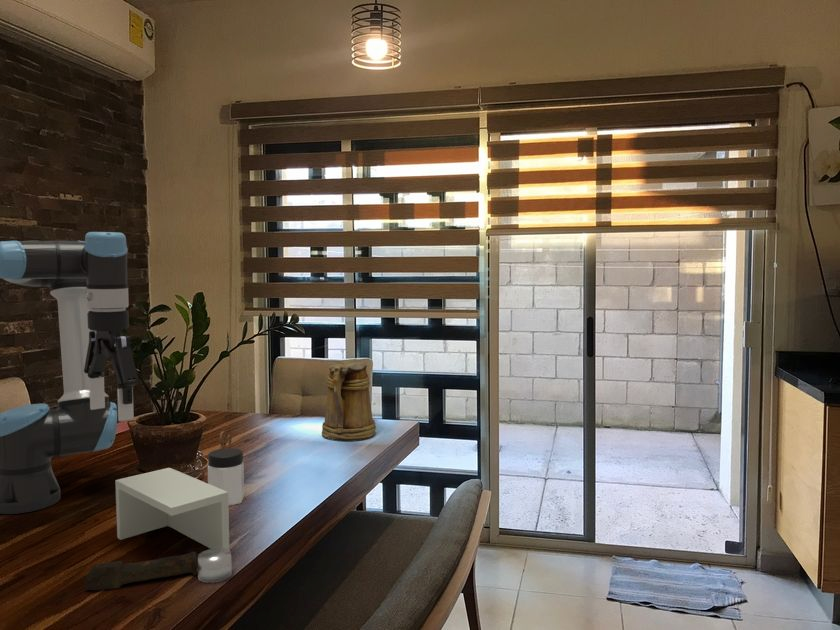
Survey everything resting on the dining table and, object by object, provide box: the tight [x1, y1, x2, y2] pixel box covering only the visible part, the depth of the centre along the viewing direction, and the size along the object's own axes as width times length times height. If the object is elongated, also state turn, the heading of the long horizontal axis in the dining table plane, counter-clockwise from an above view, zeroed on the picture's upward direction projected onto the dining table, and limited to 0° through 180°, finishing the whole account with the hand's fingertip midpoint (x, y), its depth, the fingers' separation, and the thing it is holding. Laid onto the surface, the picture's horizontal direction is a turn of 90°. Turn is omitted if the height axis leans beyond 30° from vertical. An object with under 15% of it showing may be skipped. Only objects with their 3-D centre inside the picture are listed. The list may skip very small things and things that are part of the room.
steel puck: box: [197, 548, 233, 584], centre depth 128 cm, size 6×6×4 cm
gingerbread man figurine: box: [216, 430, 233, 450], centre depth 188 cm, size 9×4×12 cm, turn 168°
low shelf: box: [114, 467, 230, 551], centre depth 141 cm, size 24×12×12 cm, turn 47°
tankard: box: [321, 358, 377, 442], centre depth 228 cm, size 18×24×25 cm
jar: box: [207, 447, 245, 507], centre depth 167 cm, size 9×8×12 cm
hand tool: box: [84, 551, 198, 591], centre depth 126 cm, size 19×4×5 cm, turn 112°
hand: (111, 414), depth 139 cm, fingers open, 13 cm apart
